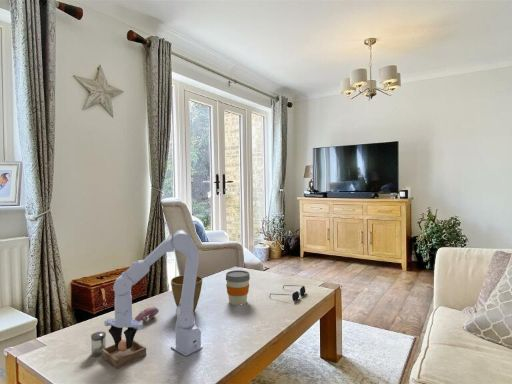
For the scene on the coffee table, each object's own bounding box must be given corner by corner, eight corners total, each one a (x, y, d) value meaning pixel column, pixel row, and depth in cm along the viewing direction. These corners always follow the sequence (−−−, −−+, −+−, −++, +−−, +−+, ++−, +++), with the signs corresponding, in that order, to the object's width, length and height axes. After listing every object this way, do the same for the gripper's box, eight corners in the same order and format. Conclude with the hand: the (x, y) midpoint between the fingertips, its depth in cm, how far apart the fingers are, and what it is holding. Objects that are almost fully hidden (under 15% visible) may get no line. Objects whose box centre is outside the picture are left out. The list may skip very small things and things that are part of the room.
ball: (132, 348, 116) (132, 338, 116) (125, 354, 113) (125, 343, 112) (122, 347, 118) (122, 336, 117) (115, 352, 114) (115, 341, 113)
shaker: (108, 352, 117) (108, 334, 117) (94, 358, 114) (94, 339, 113) (102, 348, 120) (102, 330, 120) (89, 353, 117) (88, 335, 117)
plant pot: (164, 314, 151) (164, 281, 150) (185, 304, 164) (185, 273, 163) (189, 321, 144) (188, 286, 143) (208, 309, 157) (208, 277, 157)
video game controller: (138, 327, 141) (142, 315, 139) (133, 320, 143) (136, 308, 141) (157, 320, 149) (161, 308, 147) (152, 313, 151) (155, 302, 149)
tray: (146, 355, 116) (146, 347, 116) (116, 368, 107) (116, 360, 107) (130, 345, 123) (130, 337, 123) (101, 357, 114) (101, 349, 114)
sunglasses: (293, 303, 165) (292, 294, 165) (269, 302, 173) (268, 292, 173) (306, 293, 180) (305, 284, 180) (283, 292, 188) (282, 284, 188)
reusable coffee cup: (251, 298, 172) (251, 270, 172) (248, 307, 160) (248, 277, 159) (228, 297, 174) (228, 269, 173) (223, 306, 161) (223, 276, 161)
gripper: (147, 307, 117) (148, 343, 117) (113, 303, 120) (114, 339, 121) (136, 314, 110) (136, 353, 110) (100, 311, 113) (100, 348, 114)
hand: (124, 346), depth 115 cm, fingers closed on ball, 4 cm apart
